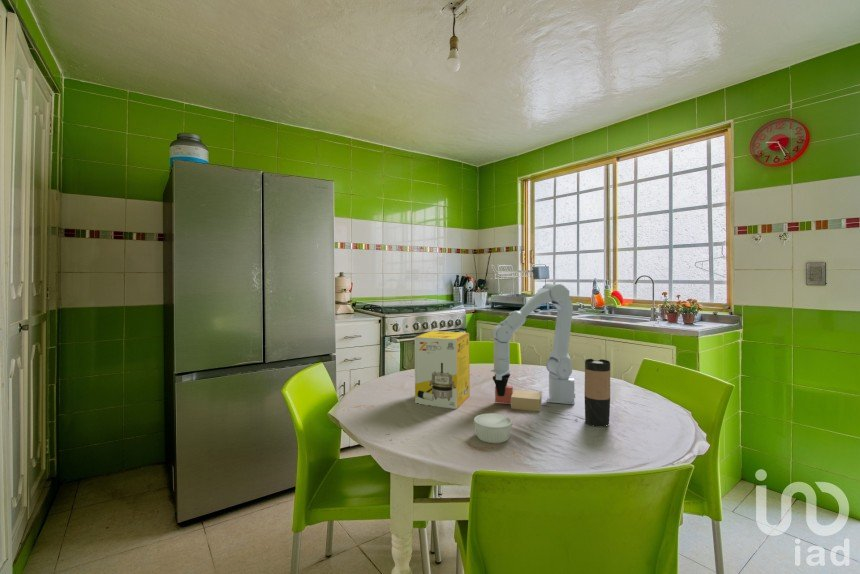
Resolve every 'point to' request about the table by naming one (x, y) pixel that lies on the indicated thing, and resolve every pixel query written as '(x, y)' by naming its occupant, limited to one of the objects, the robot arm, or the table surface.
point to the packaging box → (442, 369)
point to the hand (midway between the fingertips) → (501, 394)
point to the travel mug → (597, 392)
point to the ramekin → (493, 427)
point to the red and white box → (506, 397)
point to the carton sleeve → (526, 400)
